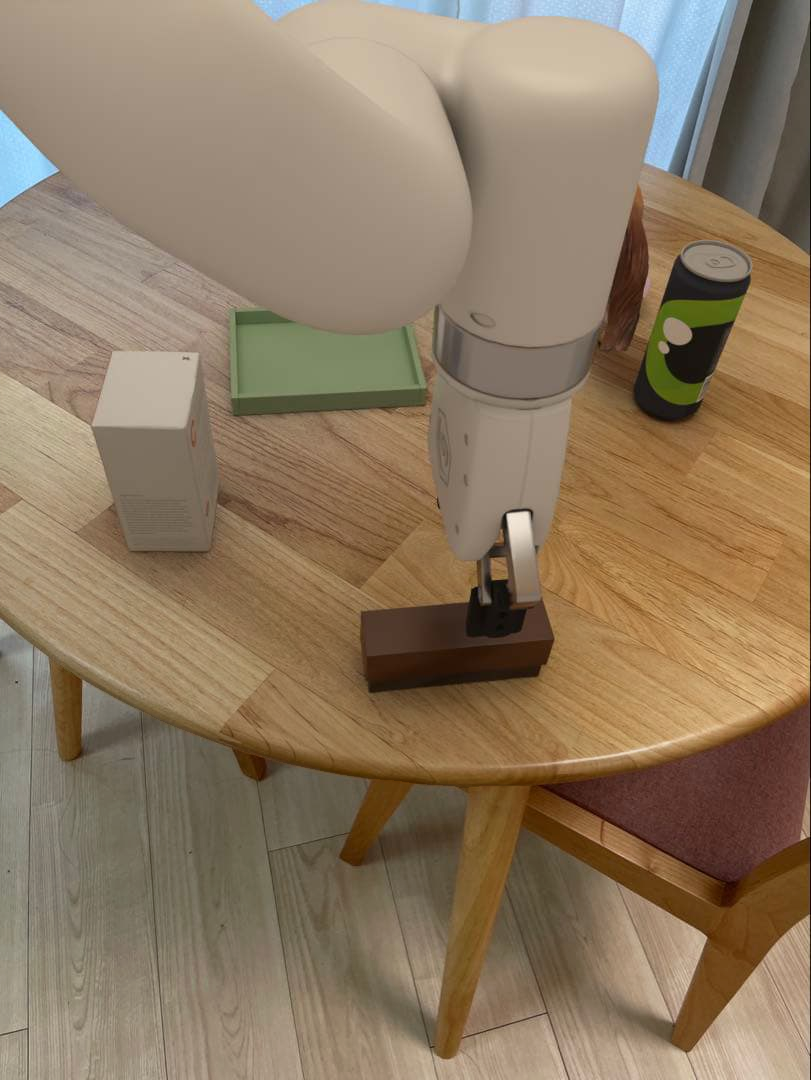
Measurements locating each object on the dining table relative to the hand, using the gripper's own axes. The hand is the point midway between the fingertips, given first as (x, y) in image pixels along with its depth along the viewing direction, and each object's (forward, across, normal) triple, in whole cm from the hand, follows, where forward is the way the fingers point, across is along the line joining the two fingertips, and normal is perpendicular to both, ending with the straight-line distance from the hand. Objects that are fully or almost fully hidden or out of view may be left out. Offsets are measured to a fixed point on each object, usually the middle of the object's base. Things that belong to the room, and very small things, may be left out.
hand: (476, 564), depth 53 cm
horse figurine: (+12, -41, +13) cm, 45 cm away
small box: (+11, -16, -20) cm, 28 cm away
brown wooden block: (+11, 0, -1) cm, 11 cm away
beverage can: (+12, -26, +24) cm, 38 cm away
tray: (+11, -34, -7) cm, 37 cm away
